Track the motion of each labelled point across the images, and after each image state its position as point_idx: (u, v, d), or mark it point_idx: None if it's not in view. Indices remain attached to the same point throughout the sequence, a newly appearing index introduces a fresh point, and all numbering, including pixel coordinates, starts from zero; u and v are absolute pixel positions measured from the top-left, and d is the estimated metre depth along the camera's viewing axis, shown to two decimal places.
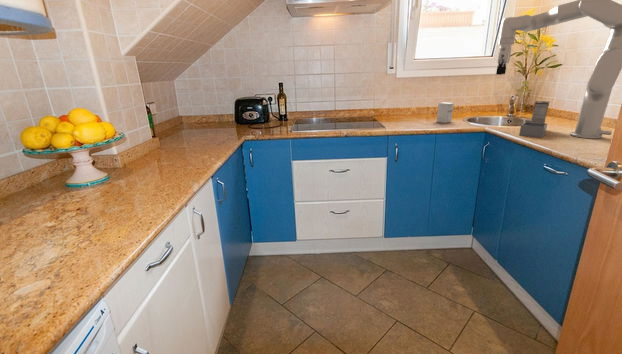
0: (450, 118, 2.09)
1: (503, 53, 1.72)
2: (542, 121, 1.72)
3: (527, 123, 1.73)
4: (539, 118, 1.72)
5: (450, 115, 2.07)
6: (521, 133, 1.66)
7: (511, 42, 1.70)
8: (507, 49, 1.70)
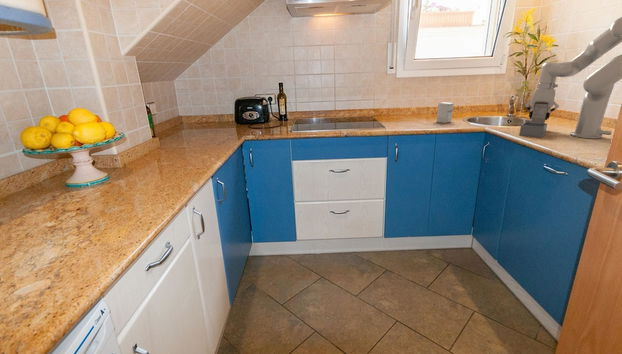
0: (450, 118, 2.09)
1: (554, 98, 1.69)
2: (542, 121, 1.72)
3: (527, 123, 1.73)
4: (539, 118, 1.72)
5: (450, 115, 2.07)
6: (521, 133, 1.66)
7: None
8: None
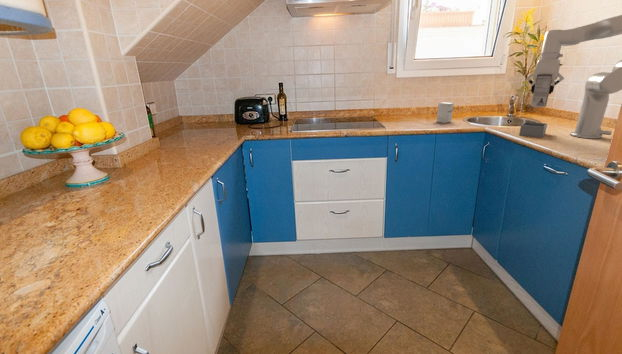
0: (450, 118, 2.09)
1: (558, 69, 1.55)
2: (545, 95, 1.57)
3: (527, 123, 1.73)
4: (542, 91, 1.58)
5: (450, 115, 2.07)
6: (521, 133, 1.66)
7: None
8: None
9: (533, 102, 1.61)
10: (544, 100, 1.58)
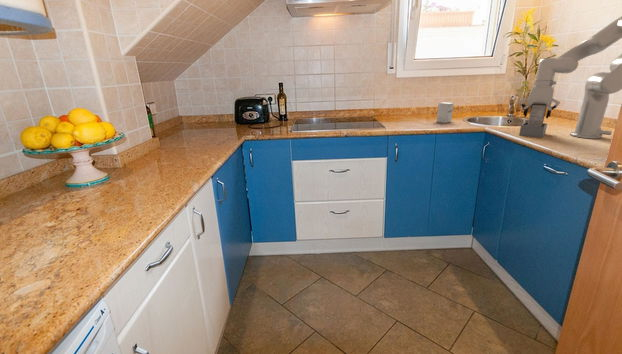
0: (450, 118, 2.09)
1: (552, 96, 1.59)
2: (539, 124, 1.62)
3: (527, 123, 1.73)
4: (536, 120, 1.62)
5: (450, 115, 2.07)
6: (521, 133, 1.66)
7: None
8: None
9: None
10: None
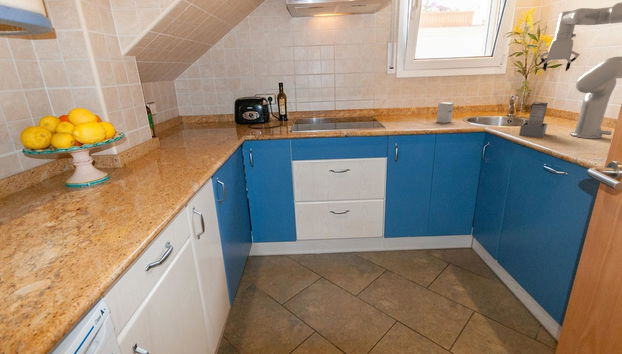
0: (450, 118, 2.09)
1: None
2: (539, 124, 1.62)
3: (527, 123, 1.73)
4: (536, 120, 1.62)
5: (450, 115, 2.07)
6: (521, 133, 1.66)
7: None
8: None
9: None
10: None
